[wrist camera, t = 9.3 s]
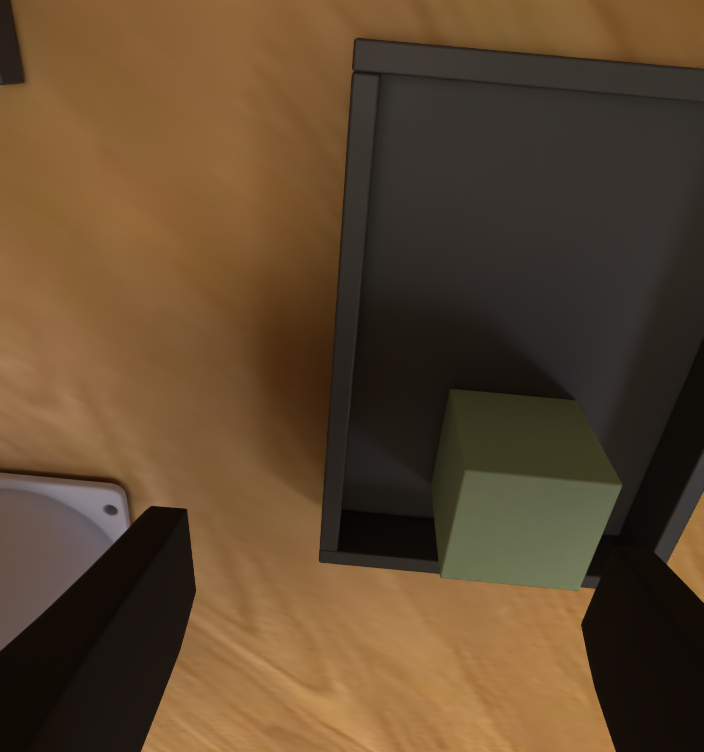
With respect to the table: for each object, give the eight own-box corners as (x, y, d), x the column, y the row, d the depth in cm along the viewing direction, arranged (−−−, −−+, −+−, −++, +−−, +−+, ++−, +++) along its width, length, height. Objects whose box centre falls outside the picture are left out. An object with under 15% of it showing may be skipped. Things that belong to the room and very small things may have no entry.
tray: (624, 539, 21) (651, 594, 19) (325, 510, 21) (318, 563, 19) (827, 81, 13) (911, 87, 11) (359, 39, 14) (353, 37, 11)
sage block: (545, 496, 20) (579, 592, 16) (430, 485, 20) (439, 578, 16) (577, 399, 18) (623, 484, 14) (449, 387, 18) (464, 470, 14)
